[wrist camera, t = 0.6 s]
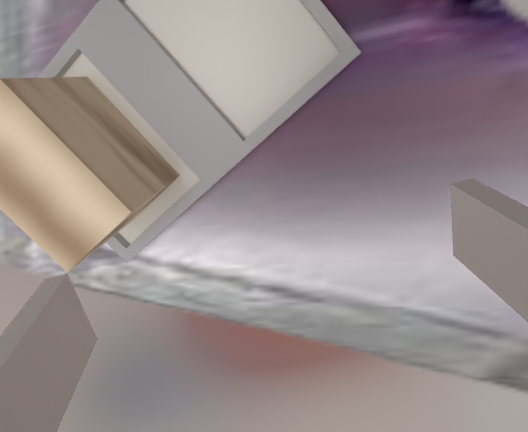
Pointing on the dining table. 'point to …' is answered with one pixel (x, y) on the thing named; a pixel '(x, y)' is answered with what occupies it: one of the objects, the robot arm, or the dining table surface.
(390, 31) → the dining table surface
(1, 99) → the block
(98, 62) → the tray
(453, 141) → the dining table surface
